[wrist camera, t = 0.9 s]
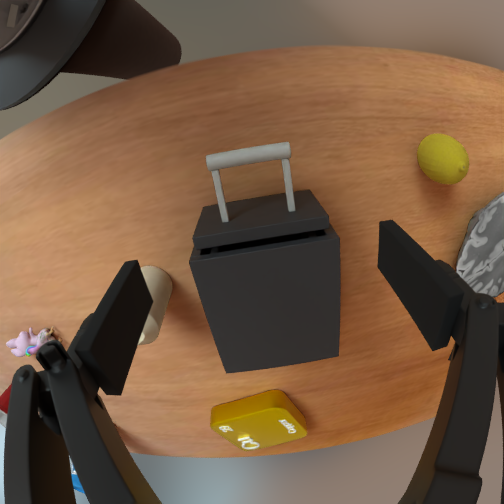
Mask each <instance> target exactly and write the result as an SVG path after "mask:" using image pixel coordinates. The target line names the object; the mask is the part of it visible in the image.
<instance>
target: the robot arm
mask: <svg viewBox="0 0 504 504" xmlns="http://www.w3.org/2000/svg"><path fill="white" fill-rule="evenodd" d="M46 1H47V0H0V53H2V52H4V51H6V50H7V49H9V48H10V47H11V46H13V45H14V44H15V43H16V42H17V41H18V40H19V39H20V38H21V37H22V36H23V35H24V34H25V33H26V32H27V31H28V29H29V28H30V27H31V26H32V24H33V23H34V21H35V20H36V19H37V17H38V15H39V14H40V12H41V10H42V9H43V7H44V5H45V3H46ZM378 268H379V270H380V271H381V273H382V274H383V276H384V277H385V278H386V280H387V281H388V283H389V284H390V286H391V287H392V289H393V290H394V291H395V293H396V294H397V296H398V297H399V299H400V300H401V302H402V303H403V305H404V306H405V308H406V309H407V311H408V312H409V314H410V316H411V317H412V319H413V320H414V322H415V323H416V325H417V327H418V328H419V330H420V331H421V333H422V335H423V336H424V338H425V339H426V341H427V343H428V344H429V346H430V348H431V349H432V351H435V350H438V349H440V348H443V347H446V346H447V345H448V343H449V340H450V337H451V336H452V337H453V339H454V340H455V344H454V347H453V349H452V352H451V354H450V357H449V359H448V360H450V366H449V370H448V374H447V378H446V382H445V386H444V390H443V394H442V398H441V401H440V404H439V408H438V411H437V414H436V418H435V421H434V424H433V427H432V430H431V432H430V436H429V438H428V441H427V444H426V446H425V449H424V451H423V454H422V457H421V459H420V461H419V464H418V466H417V468H416V471H415V473H414V475H413V478H412V480H411V482H410V484H409V486H408V488H407V490H406V492H405V494H404V495H403V497H402V498H401V500H400V501H399V502H398V504H476V503H477V500H478V497H479V494H480V491H481V486H482V478H481V477H480V476H479V469H480V465H481V461H482V457H483V454H484V450H485V445H486V441H487V437H488V432H489V427H490V421H491V416H492V410H493V403H494V395H495V387H496V377H497V380H498V387H499V394H500V403H501V414H502V428H503V479H502V493H501V504H504V303H497V302H496V300H495V299H494V298H493V297H491V296H490V295H488V294H485V293H476V292H475V291H474V290H473V289H472V288H471V287H470V286H469V285H468V284H467V283H466V282H465V280H464V279H463V278H462V277H460V275H459V274H458V273H457V272H455V270H454V269H453V268H452V267H451V266H450V265H449V264H447V263H445V262H443V261H441V260H436V261H435V260H434V259H433V258H432V257H431V256H430V255H429V254H428V253H427V252H426V251H425V250H424V249H423V248H422V247H421V246H420V245H419V244H418V243H417V242H416V241H414V240H413V239H412V238H411V237H410V236H409V235H408V234H407V233H406V232H405V231H404V230H403V229H402V228H401V227H400V226H399V225H397V224H396V223H395V222H394V221H393V220H387V221H380V222H379V251H378ZM153 302H154V301H153V299H152V296H151V294H150V291H149V289H148V286H147V284H146V281H145V279H144V276H143V273H142V271H141V268H140V266H139V263H138V260H132V261H127V262H125V263H124V264H123V266H122V267H121V269H120V270H119V272H118V274H117V275H116V277H115V278H114V280H113V282H112V283H111V285H110V287H109V288H108V290H107V292H106V293H105V295H104V297H103V298H102V300H101V302H100V304H99V305H98V307H97V309H96V310H95V312H94V313H91V314H90V315H89V316H88V317H87V318H86V319H85V320H84V321H83V323H82V325H81V326H80V330H78V332H77V334H76V336H75V337H74V339H73V341H72V343H71V344H70V346H69V348H68V350H67V352H66V350H65V349H64V347H63V346H62V344H61V343H60V341H58V340H51V341H48V342H46V343H45V344H43V345H42V346H41V347H40V348H39V350H38V351H37V353H36V359H37V360H38V361H39V363H40V364H41V365H42V367H43V368H44V369H45V370H44V371H40V372H36V370H35V369H34V368H33V367H32V365H24V366H22V367H20V368H19V369H18V370H17V371H16V373H15V374H14V377H13V380H12V386H11V392H10V398H9V405H8V413H7V422H6V434H5V449H4V495H5V504H76V499H75V494H74V488H73V482H72V475H71V468H70V460H69V455H70V458H71V461H72V463H73V466H74V469H75V471H76V474H77V476H78V478H79V481H80V483H81V485H82V488H83V490H84V492H85V494H86V496H87V499H88V501H89V503H90V504H162V503H161V501H160V500H159V498H158V497H157V496H156V494H155V493H154V491H153V490H152V488H151V487H150V485H149V484H148V482H147V481H146V479H145V478H144V476H143V475H142V473H141V471H140V470H139V468H138V467H137V465H136V464H135V462H134V460H133V458H132V457H131V455H130V453H129V451H128V450H127V448H126V446H125V444H124V443H123V441H122V439H121V437H120V435H119V433H118V431H117V430H116V428H115V426H114V424H113V422H112V420H111V418H110V416H109V414H108V412H107V410H106V407H105V405H104V403H103V401H102V399H101V397H100V396H99V395H98V394H97V393H98V390H99V387H101V389H102V390H103V391H104V392H105V394H106V395H121V394H122V391H123V388H124V385H125V381H126V378H127V375H128V372H129V369H130V366H131V363H132V360H133V357H134V354H135V351H136V348H137V345H138V343H139V340H140V337H141V334H142V331H143V329H144V326H145V323H146V320H147V318H148V315H149V312H150V310H151V307H152V304H153ZM38 412H39V414H38Z"/></svg>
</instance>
